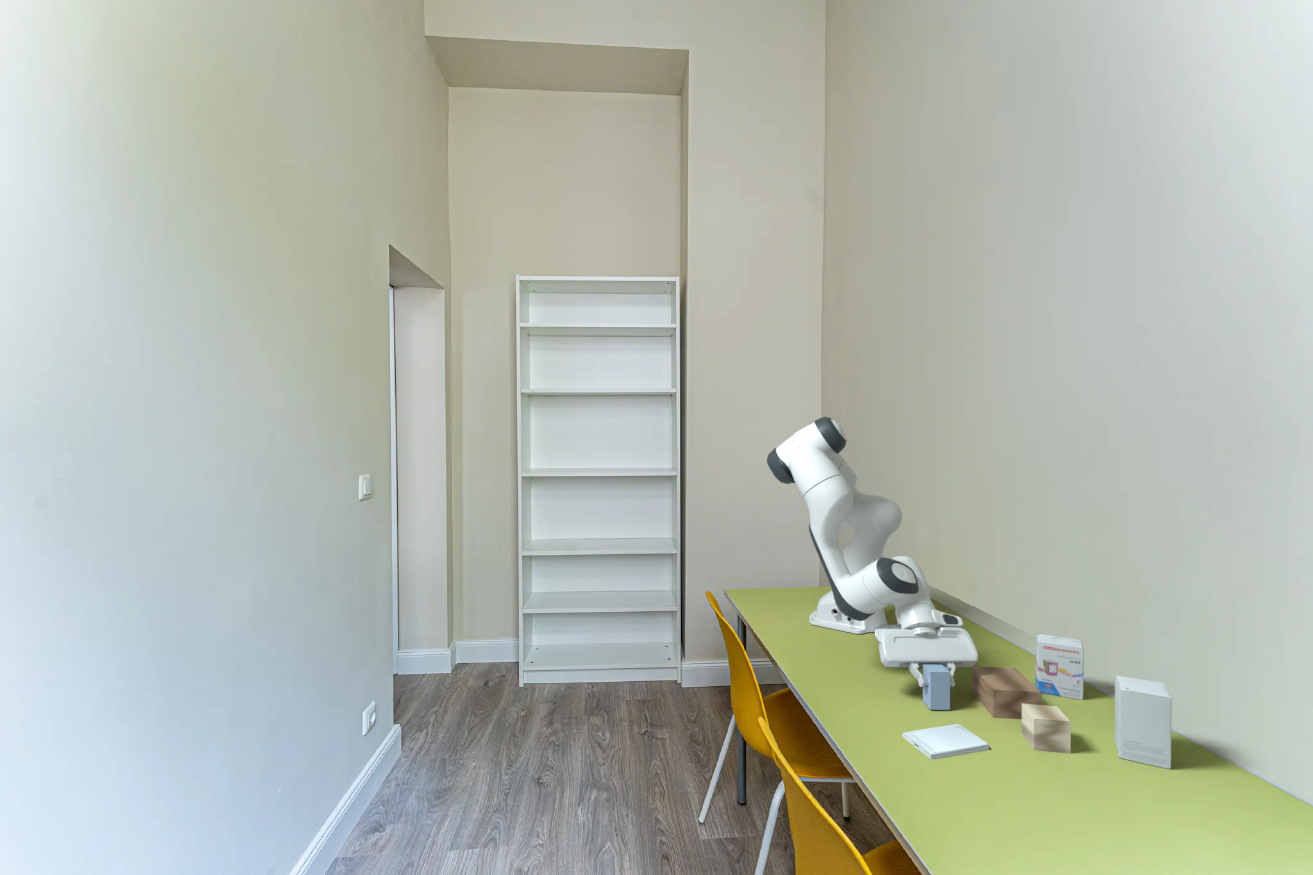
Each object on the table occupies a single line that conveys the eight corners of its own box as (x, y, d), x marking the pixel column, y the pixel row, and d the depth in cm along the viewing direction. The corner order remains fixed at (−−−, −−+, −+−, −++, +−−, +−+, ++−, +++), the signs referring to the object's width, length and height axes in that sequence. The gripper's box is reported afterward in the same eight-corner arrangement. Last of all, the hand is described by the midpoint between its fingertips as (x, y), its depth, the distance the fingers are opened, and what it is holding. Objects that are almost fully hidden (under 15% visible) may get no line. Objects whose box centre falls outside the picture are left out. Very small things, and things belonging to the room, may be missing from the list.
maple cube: (1033, 750, 112) (1034, 718, 111) (1021, 734, 117) (1021, 703, 117) (1070, 753, 110) (1070, 721, 110) (1056, 737, 116) (1056, 706, 116)
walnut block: (993, 718, 124) (993, 689, 124) (971, 692, 136) (971, 666, 135) (1041, 721, 122) (1041, 692, 122) (1015, 694, 134) (1015, 668, 134)
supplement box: (1172, 770, 105) (1172, 698, 104) (1118, 758, 108) (1118, 688, 108) (1164, 750, 111) (1165, 682, 110) (1113, 739, 115) (1114, 673, 114)
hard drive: (957, 722, 120) (902, 730, 117) (989, 743, 112) (930, 753, 109) (957, 730, 120) (902, 739, 117) (989, 752, 112) (930, 762, 109)
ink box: (1037, 693, 134) (1037, 640, 134) (1035, 684, 139) (1035, 633, 139) (1084, 700, 130) (1084, 646, 130) (1080, 691, 135) (1080, 638, 135)
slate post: (922, 700, 131) (922, 664, 131) (941, 700, 131) (941, 664, 130) (930, 709, 127) (930, 671, 127) (950, 709, 127) (949, 671, 127)
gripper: (875, 618, 136) (891, 680, 126) (968, 617, 135) (991, 680, 125) (869, 630, 140) (884, 691, 131) (959, 630, 139) (980, 691, 130)
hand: (937, 686), depth 128 cm, fingers closed on slate post, 4 cm apart
